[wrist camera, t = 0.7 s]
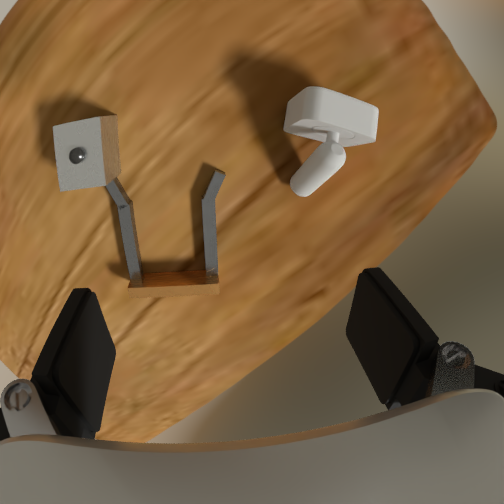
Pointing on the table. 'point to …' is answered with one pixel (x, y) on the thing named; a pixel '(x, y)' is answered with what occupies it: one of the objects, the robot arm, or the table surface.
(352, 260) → the table surface
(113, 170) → the block
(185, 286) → the receiver
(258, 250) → the table surface
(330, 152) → the white jointed piece
